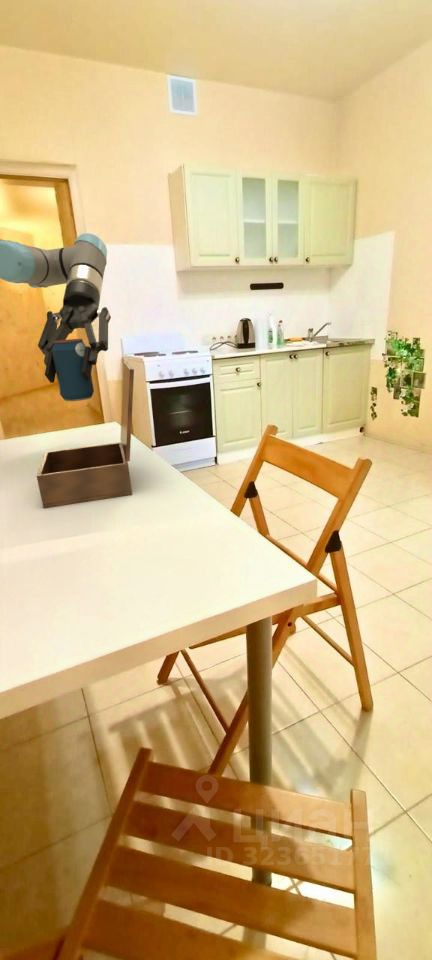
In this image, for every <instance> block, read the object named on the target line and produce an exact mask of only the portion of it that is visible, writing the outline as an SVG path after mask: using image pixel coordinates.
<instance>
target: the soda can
mask: <svg viewBox="0 0 432 960" xmlns="http://www.w3.org/2000/svg"><path fill="white" fill-rule="evenodd" d="M53 342H54V345H53V349H52V353H53V359H54V364H55V369H56V375H55V376H56V380H57V384H58V385H57V386H58V390H59V396H60V397H61V398H62V399H63V401H65V402H80V401H85V400H86V401H87V400H89V399H92V397H93V395H94V393H95V389H94V382H93V377H92V375H91V377H90V381H86V379H85V378H84V376H83V374H82V373H81V371H82V365H83V359H84V354H85V348H86V346H87V345H86V344H85V343H84V340H83V338H70V339H69V338H68V339H66V340H58V341H53Z"/></svg>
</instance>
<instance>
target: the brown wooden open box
mask: <svg viewBox="0 0 432 960" xmlns="http://www.w3.org/2000/svg"><path fill="white" fill-rule="evenodd" d="M42 457H43V458H42V459H41V462H40V464H39V468H38V471H37V473H36V481H37V485H38V489H39V494H40V499H41V503H42V508H43V509H47V508H53V507H60V506H61V507H62V506H67V505H74V504H79V503H85V502H92V501H99V500H106V499H113V498H119V497H125V496H132V495H133V489H132V482H131V475H130V468H129V461H126V460H125V456H124V452H123V448H122V444H121V441H120V442H113V443H104V444H97V445H90V446H82V447H81V446H80V447H74V448H73V447H72V448H65V449H57V450H51V451H50V450H49V451H44V454H43V456H42Z"/></svg>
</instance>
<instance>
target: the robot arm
mask: <svg viewBox="0 0 432 960" xmlns="http://www.w3.org/2000/svg"><path fill="white" fill-rule="evenodd" d="M107 257H108V250H107V245H106V243H105V242H104V241H103V239H101V238H100V237H99V236H97V235H95V234H94V233H89V232H85V233H81V234H80V235H78V236H77V237H76V239H75V241H74V242H73V245H69V246H64V247H59V248H51V249H43V248H39V247H36V246H31V245H27V244H23V243H20V242H18V241H15V240H14V241H13V240H8V239H7V240H5V239H1V238H0V279H1V280H2V281H5V282H8V283H14V284H27V285H28V286H29V287H31V288H34V289H37V288H44V289H45V288H49V287H53V286H59V285H64V284H65V289H64V293H63V298H62V307H61V308H60V310H59V311H58V312H55V313H53V311H51V310H49V311H47V312H46V321H45V324H44V327H43V329H42V333H41V335H40V338H39V341H38V343H37V347H38V349H39V350H40V352H41V353H42V354H43V356H44V360H43V363H44V365H45V370H44V376H45V378H46V379H47V380H48V382H49V383H51V384H52V383H53V384H54V383H55V379H56V376H57V375H56V369H55V364H54V359H53V353H52V349H53V345H54V342H53V341H58V340H67V338H68V337H69V335H70V334H72V333H73V332H74V331H75V330H76V329H84V330H85V334H86V337H87V340H88V344H89V346H87V345H86V348H85V354H84V359H83V365H82V371H81V373H82V374H83V376H84V378H85V379H86V381H90V377H91V376H92V369H93V366H96V365H97V363H98V359H99V358H98V357H99V354H100V352H102V351H103V352H107V351H108V350H109V323H110V321H111V319H112V316H111V314H110V312H109V309H108V307H107V306H104V307H102V308H101V309H99V308H100V303H101V302H100V301H101V296H102V289H103V282H104V277H105V270H106V266H107ZM97 318H98V341H97V338H96V335H95V332H94V328H93V324H92V323H93V322H94V321H95V320H97Z"/></svg>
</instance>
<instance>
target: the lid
mask: <svg viewBox="0 0 432 960" xmlns="http://www.w3.org/2000/svg"><path fill="white" fill-rule="evenodd" d="M122 365H123V366H122V367H123V370H122V391H121V392H122V393H121V417H120V418H121V420H120V442H121V444H122V448H123V452H124V456H125V460H126V461H127V462H131V444H132V443H131V442H132V422H133V400H134V382H135V381H134V380H135V379H134V378H135V369H134V368H133V367H132V365H131V364H130V363H129V362H128V361H123V364H122Z"/></svg>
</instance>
